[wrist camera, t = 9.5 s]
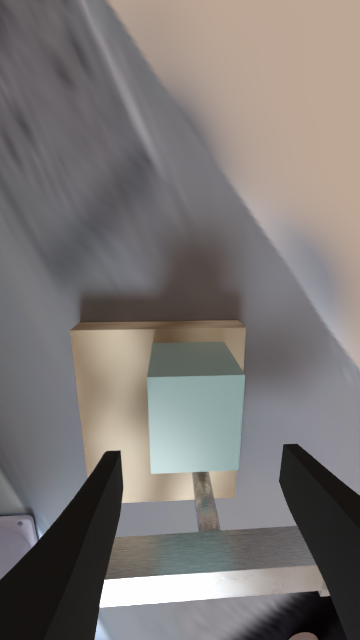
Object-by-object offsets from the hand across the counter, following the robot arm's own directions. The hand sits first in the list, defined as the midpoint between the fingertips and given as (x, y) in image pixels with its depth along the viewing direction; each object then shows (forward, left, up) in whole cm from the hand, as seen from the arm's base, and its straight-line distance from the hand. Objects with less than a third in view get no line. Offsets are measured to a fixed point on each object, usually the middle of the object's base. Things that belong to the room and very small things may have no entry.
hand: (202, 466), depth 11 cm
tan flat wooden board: (-2, -4, -10) cm, 10 cm away
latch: (+1, -8, -7) cm, 11 cm away
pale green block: (0, 0, -8) cm, 8 cm away
